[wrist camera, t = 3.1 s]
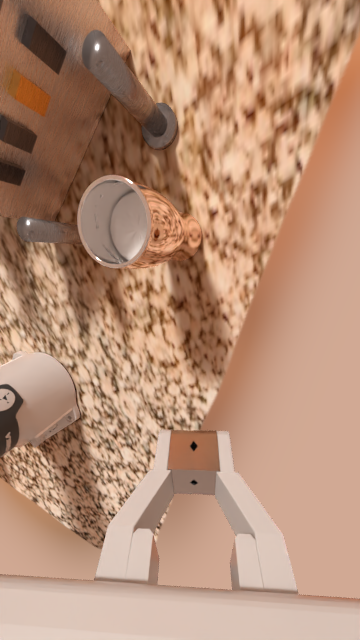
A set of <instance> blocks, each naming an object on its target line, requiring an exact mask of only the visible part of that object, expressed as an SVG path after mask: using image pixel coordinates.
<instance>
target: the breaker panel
mask: <svg viewBox="0 0 360 640" xmlns="http://www.w3.org/2000/svg"><path fill="white" fill-rule="evenodd" d="M93 30H99V31H101V32H102V33H103V34H104V35H105V36H106V38H107V39H108V40H109V42H110V43H111V44H112V46H113V47H114V48H115V50H116V51H117V52H118V54H119V55H120V57H121V58H122V59H123V61H124V62H126V60H127V57H128V55H129V53H130V51H131V50H130V49H129V47H128V46H127V44H126V43H125V41H124V40H123V38H122V37H121V35H120V34H119V32H118V31H117V29H116V28H115V26H114V25H113V23H112V22H111V20H110V19H109V18H108V16H107V15H106V13H105V12H104V10H103V9H102V7H101V6H100V4H99V3H98V1H97V0H0V216H3V217H10V218H17V219H20V218H21V217H29V218H35V219H42V220H48V221H55V219H56V217H57V215H58V213H59V210H60V208H61V206H62V204H63V201H64V199H65V197H66V195H67V192H68V190H69V188H70V186H71V183H72V181H73V179H74V177H75V174H76V172H77V170H78V168H79V165H80V163H81V161H82V159H83V156H84V154H85V152H86V150H87V147H88V145H89V143H90V141H91V138H92V136H93V134H94V132H95V129H96V127H97V125H98V123H99V120H100V118H101V116H102V114H103V111H104V109H105V107H106V105H107V102H108V100H109V98H110V96H111V93H110V92H109V91H108V90H107V89H106V87H105V86H104V85H103V84H102V83H101V82H100V81H99V80H98V79H97V78H96V77H95V76H94V75H93V74H92V73H91V72H90V71H89V70H88V69H87V68H86V67H85V65H84V63H83V60H82V46H83V42H84V40H85V38H86V36H87V35H88V34H89V33H90V32H91V31H93Z"/></svg>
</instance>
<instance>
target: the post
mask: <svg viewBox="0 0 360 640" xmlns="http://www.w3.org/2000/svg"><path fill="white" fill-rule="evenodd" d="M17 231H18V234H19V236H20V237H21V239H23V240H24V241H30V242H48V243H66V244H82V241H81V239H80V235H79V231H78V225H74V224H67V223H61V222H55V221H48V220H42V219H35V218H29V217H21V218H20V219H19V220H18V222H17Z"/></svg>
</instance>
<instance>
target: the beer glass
mask: <svg viewBox="0 0 360 640" xmlns="http://www.w3.org/2000/svg"><path fill="white" fill-rule="evenodd" d="M77 225H78V231H79V235H80V239H81V241H82V244H83V246H84V247H85V249H86V251H87V252H88V253H89V255H90V256H91V257H92V258H93V259H94V260H95V261H97V262H98V263H100V264H101V265H103V266H106V267H109V268H127V269H141V268H149V267H155V266H158V265H160V264H163V263H165V262H167V261H169V260H170V259H172V260H175V261H184V260H187V259H189V258H191V257H192V256H193V255H194V254H195V253H196V252H197V251H198V249H199V247H200V244H201V240H202V232H201V228H200V225H199V223H198V222H197V220H196V219H195V218H194V217H193V216H191V215H190V214H187V213H183V212H179V211H178V210H177V209H176V208H175V206H174V205H173V204H172V203H171V202H170V201H169V200H168V199H167V198H166V197H164V196H163V195H161V194H160V193H158V192H157V191H155V190H153V189H151V188H149V187H147V186H145V185H142V184H140V183H137V182H134V181H132V180H129V179H127V178H125V177H123V176H119V175H106V176H102V177H100V178H98V179H96V180H95V181H94V182H92V183H91V184H90V185H89V186H88V188H87V189H86V190H85V192H84V194H83V195H82V198H81V200H80V203H79V207H78V213H77Z"/></svg>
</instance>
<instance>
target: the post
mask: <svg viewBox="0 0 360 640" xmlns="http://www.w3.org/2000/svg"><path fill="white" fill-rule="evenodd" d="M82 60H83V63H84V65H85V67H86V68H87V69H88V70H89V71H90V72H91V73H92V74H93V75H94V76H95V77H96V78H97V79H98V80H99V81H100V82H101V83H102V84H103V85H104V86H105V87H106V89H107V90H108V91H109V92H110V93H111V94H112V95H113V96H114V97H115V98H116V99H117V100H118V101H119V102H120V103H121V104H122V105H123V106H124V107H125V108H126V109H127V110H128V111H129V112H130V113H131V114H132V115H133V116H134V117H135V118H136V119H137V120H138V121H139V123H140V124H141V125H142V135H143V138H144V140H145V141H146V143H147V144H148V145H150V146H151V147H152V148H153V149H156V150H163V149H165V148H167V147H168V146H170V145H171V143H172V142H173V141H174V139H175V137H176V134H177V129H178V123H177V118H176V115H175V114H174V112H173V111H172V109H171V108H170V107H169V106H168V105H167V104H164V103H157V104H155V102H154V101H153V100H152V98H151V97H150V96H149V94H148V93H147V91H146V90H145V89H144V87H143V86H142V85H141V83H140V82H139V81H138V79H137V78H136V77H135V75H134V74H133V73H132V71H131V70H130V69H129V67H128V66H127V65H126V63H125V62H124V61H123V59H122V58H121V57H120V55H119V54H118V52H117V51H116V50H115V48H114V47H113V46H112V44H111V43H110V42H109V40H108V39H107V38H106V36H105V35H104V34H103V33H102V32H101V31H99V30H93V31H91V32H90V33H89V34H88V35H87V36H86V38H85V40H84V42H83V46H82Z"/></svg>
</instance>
